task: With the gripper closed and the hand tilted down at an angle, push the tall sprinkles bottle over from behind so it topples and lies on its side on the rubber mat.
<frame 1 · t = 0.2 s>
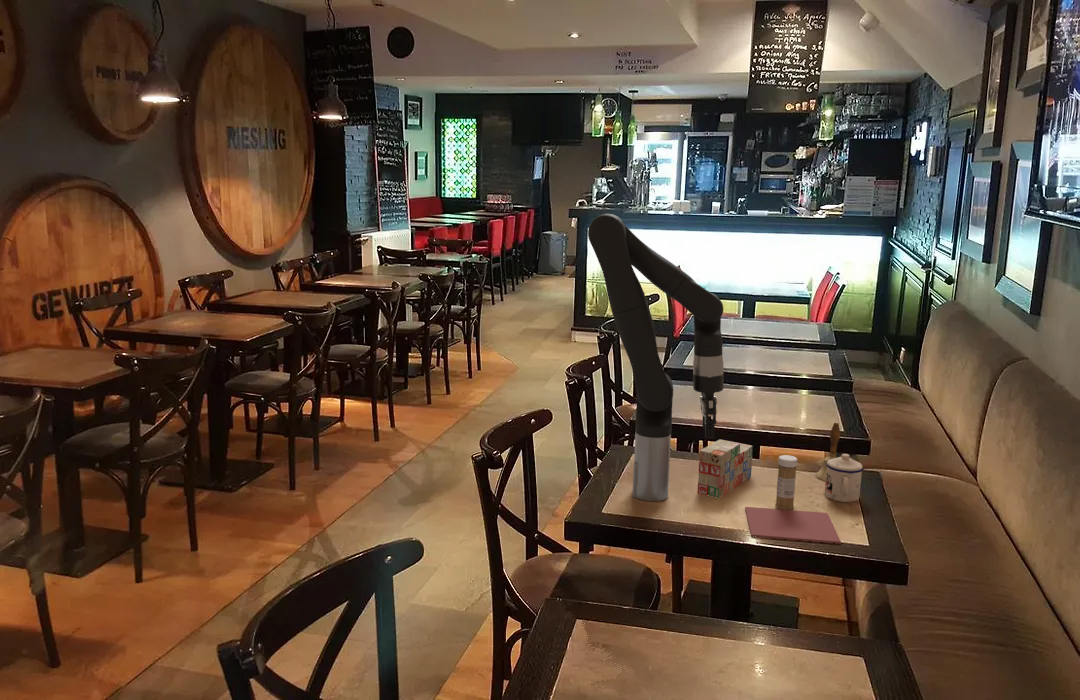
hand: (708, 433, 207), 18 cm above the table, tool pointing down, fingers open, 8 cm apart
teacup with lid: (842, 499, 212), on the table
sprinkles bottle: (784, 508, 206), on the table
stack of blocks: (724, 485, 221), on the table
hand bell: (830, 478, 228), on the table
mat: (790, 525, 195), on the table
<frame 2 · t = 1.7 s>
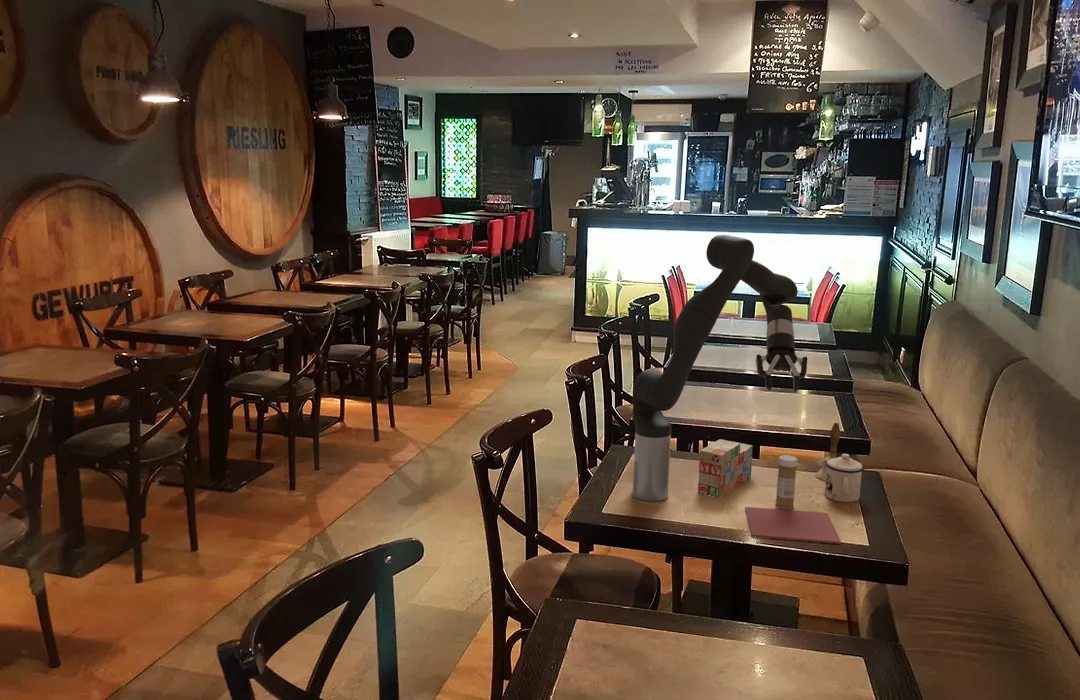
hand: (782, 389, 219), 26 cm above the table, tool tilted 45°, fingers open, 6 cm apart
nothing on the table moved.
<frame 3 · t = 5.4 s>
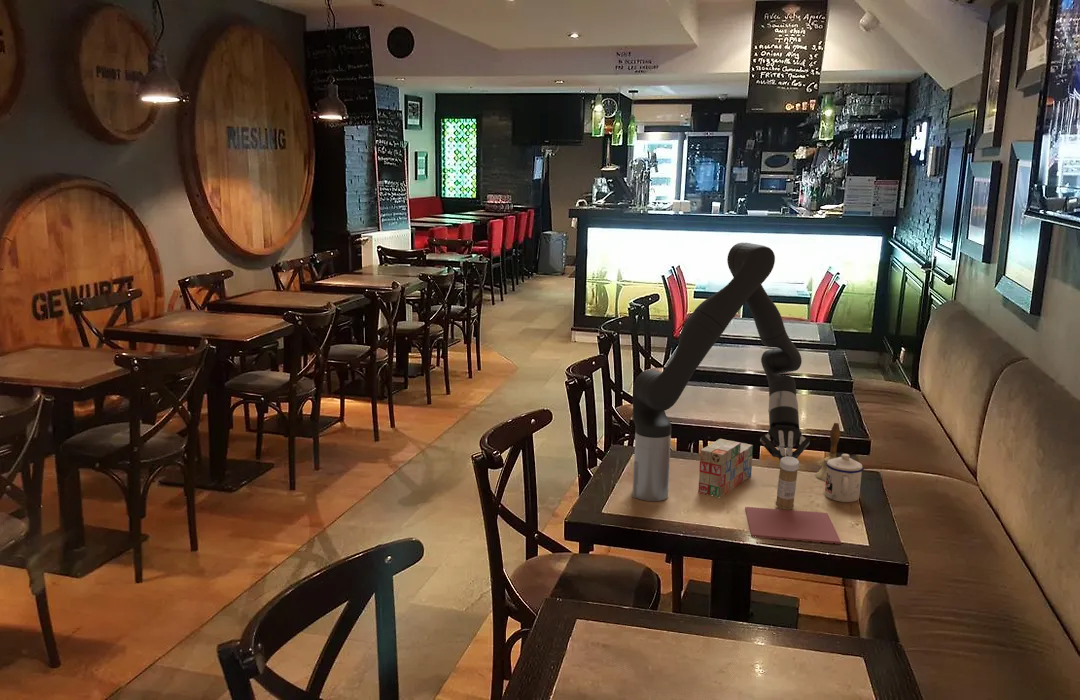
hand: (786, 471, 204), 9 cm above the table, tool tilted 45°, fingers closed
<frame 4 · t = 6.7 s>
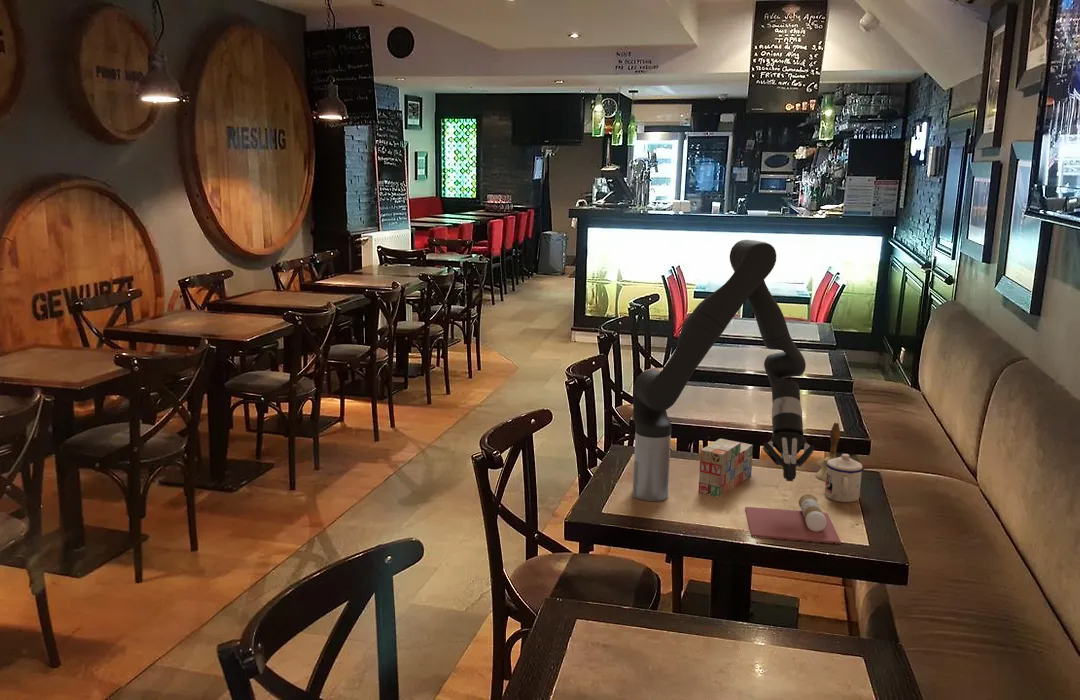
hand: (790, 479, 198), 9 cm above the table, tool tilted 45°, fingers closed
sprinkles bottle: (807, 501, 202), point 3 cm above the table, touching mat
everything else where it was.
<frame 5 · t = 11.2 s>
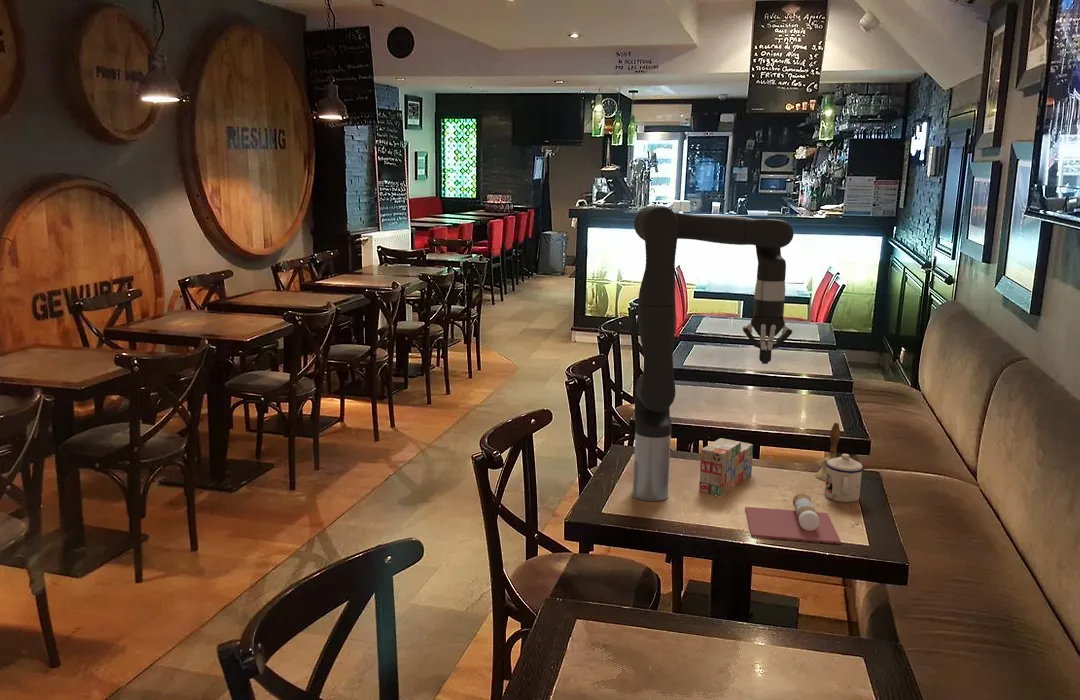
hand: (764, 363, 211), 35 cm above the table, tool pointing down, fingers closed
sprinkles bottle: (801, 501, 203), point 3 cm above the table, touching mat
at the end: sprinkles bottle tilted 90°; sprinkles bottle touching mat; sprinkles bottle inside the target area (4.8 cm from its centre), point 2.8 cm above the table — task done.
